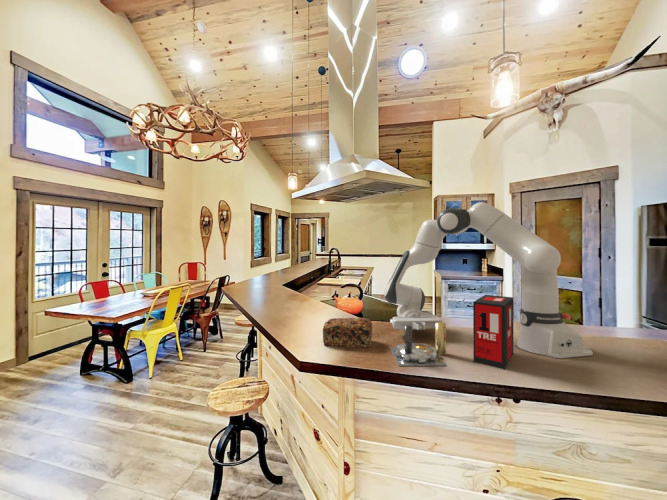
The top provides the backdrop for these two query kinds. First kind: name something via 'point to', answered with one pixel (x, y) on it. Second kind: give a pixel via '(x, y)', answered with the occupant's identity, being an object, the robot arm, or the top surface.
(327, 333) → the bread
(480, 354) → the cleaning product box
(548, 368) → the top surface
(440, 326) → the roller
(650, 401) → the top surface
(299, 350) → the top surface
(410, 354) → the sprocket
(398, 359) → the base plate
